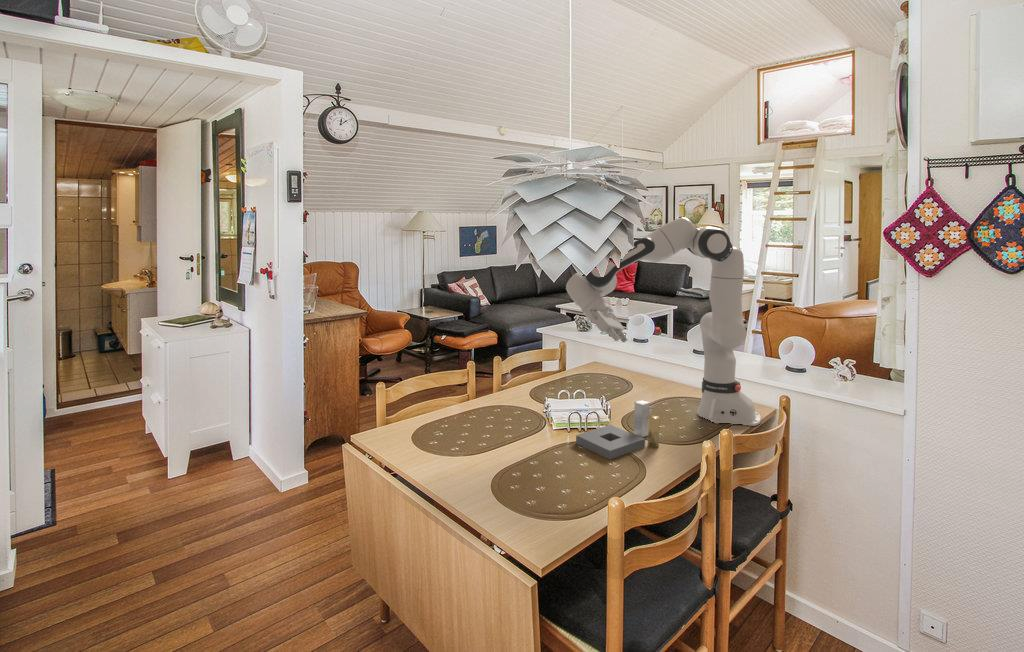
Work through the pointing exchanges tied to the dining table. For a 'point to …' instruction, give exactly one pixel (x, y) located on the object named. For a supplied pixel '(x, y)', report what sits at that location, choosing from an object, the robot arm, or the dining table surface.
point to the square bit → (641, 418)
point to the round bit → (653, 431)
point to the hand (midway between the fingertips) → (621, 340)
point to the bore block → (610, 441)
